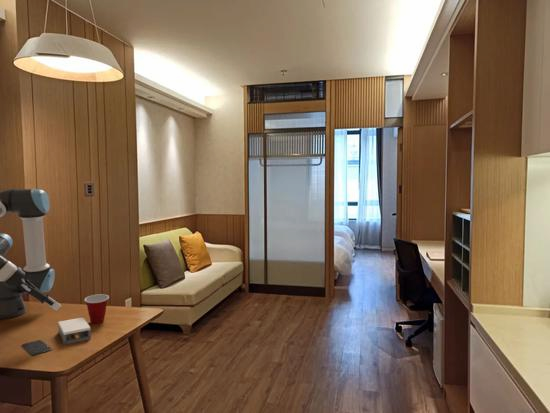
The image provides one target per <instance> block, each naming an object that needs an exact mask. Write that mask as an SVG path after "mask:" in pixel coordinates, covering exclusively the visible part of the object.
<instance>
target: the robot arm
mask: <svg viewBox="0 0 550 413" xmlns="http://www.w3.org/2000/svg"><path fill="white" fill-rule="evenodd" d="M50 206H51V205H50V199H49V195H48V193H47V192H46V191H44V190H43V189H37V188H19V189H18V188H17V189H16V188H11V189H10V188H9V189H8V188H7V189H5V190H1V191H0V218H1V217H3V216H5V214H9V213H10V214H12V213H13V214H14V213H16V214H17V216H18V218H19V219H21V221H22V230H23V242H24V249H25V250H24V252H25V253H24V254H25V262H26V263H25V264H26V265H25V266H24V267H23V270H22V268H21V267H19V266H18V267H17V265H16V264H14V263H13V262H11V261H9V259H6V258H5V256H6V255H7V253H8V252H9V251H10V249H11V247H12V246H13V244H14V241H13V239H12V237H11V236H10V235H9V234H7V233H0V320H1V319H3V320H4V319H10V318H14V317H15V318H16V317H18V316H21V315H24V314H26V313H27V306H26V305H25V304H26V303H25V301H24V299H23V297H22V296H23V295H22V294H28V295H30V296H31V297H32V298H33V297H34V298H35V299H36V300H38V301H39V302H40V303H41V304H42V305H43V304H46V305H47V306H48V307H50V308H51V309H52V310H54V311H56V312H58V311H59V309H60V308H61V307H62V305H61V304H60V303H59V302H58V301H56V300H55V299H53V298H52V297H50V296H49V295H50V294H49V293H47V294H46V292H49V291H51V289H52V288H53V285H54V283H55V277H56V275H55V274H56V273H55V272H56V270H55V269H54V268H51V265H50V264H49V263H47V256H46V255H47V254H46V245H45V244H46V242H45V234H44V232H45V231H44V219H43V218H45V217H46V215H47V214H46V213H48V212H49V211H50Z"/></svg>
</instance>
